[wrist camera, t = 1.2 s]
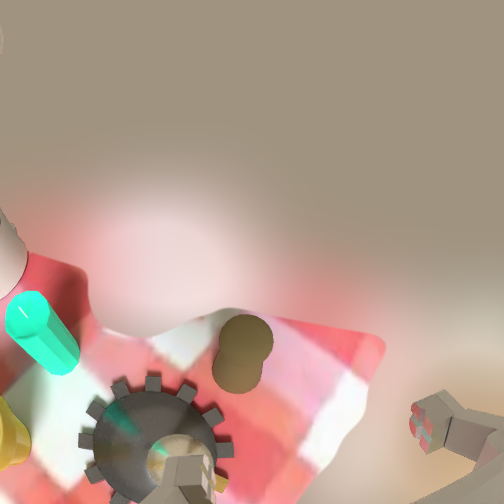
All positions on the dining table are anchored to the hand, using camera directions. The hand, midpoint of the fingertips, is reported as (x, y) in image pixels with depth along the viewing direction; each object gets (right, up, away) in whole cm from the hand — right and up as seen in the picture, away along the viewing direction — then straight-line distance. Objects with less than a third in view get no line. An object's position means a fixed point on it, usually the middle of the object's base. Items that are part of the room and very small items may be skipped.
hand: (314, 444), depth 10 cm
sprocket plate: (-13, -15, +19) cm, 27 cm away
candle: (-27, -6, +24) cm, 37 cm away
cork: (-4, -7, +27) cm, 28 cm away
